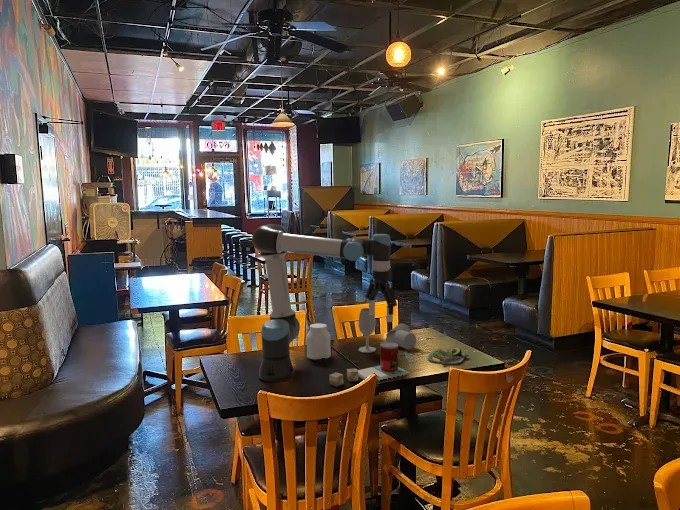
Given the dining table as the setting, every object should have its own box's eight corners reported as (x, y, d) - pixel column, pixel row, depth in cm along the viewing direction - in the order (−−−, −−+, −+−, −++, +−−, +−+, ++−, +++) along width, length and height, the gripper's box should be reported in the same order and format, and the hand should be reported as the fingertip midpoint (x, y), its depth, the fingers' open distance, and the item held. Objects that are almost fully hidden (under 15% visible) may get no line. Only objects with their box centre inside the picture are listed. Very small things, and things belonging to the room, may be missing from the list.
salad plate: (460, 369, 224) (460, 359, 224) (421, 363, 233) (421, 354, 232) (470, 357, 241) (470, 347, 241) (434, 352, 250) (434, 343, 249)
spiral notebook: (370, 383, 209) (370, 380, 208) (352, 373, 221) (352, 370, 220) (408, 374, 219) (408, 371, 218) (389, 364, 231) (389, 362, 230)
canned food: (393, 373, 216) (393, 348, 215) (377, 370, 221) (376, 345, 219) (401, 368, 223) (401, 343, 222) (385, 364, 227) (385, 341, 226)
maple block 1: (336, 386, 206) (336, 377, 205) (329, 384, 209) (329, 374, 208) (343, 384, 209) (343, 374, 208) (336, 381, 211) (336, 372, 211)
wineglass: (379, 349, 253) (379, 308, 251) (370, 354, 246) (370, 312, 243) (364, 347, 258) (363, 306, 255) (355, 351, 251) (354, 310, 248)
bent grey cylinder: (374, 340, 266) (400, 349, 250) (377, 320, 266) (403, 328, 250) (399, 341, 276) (425, 350, 260) (402, 322, 276) (428, 330, 260)
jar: (308, 360, 239) (308, 329, 237) (305, 353, 248) (304, 324, 246) (332, 357, 242) (332, 327, 240) (328, 351, 251) (327, 322, 249)
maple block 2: (348, 381, 211) (348, 372, 211) (346, 378, 215) (346, 369, 215) (358, 380, 212) (358, 371, 212) (356, 377, 216) (356, 368, 215)
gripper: (405, 273, 210) (404, 323, 213) (372, 265, 231) (372, 311, 234) (391, 274, 206) (390, 325, 209) (358, 266, 228) (358, 313, 230)
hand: (380, 318), depth 222 cm, fingers open, 13 cm apart
